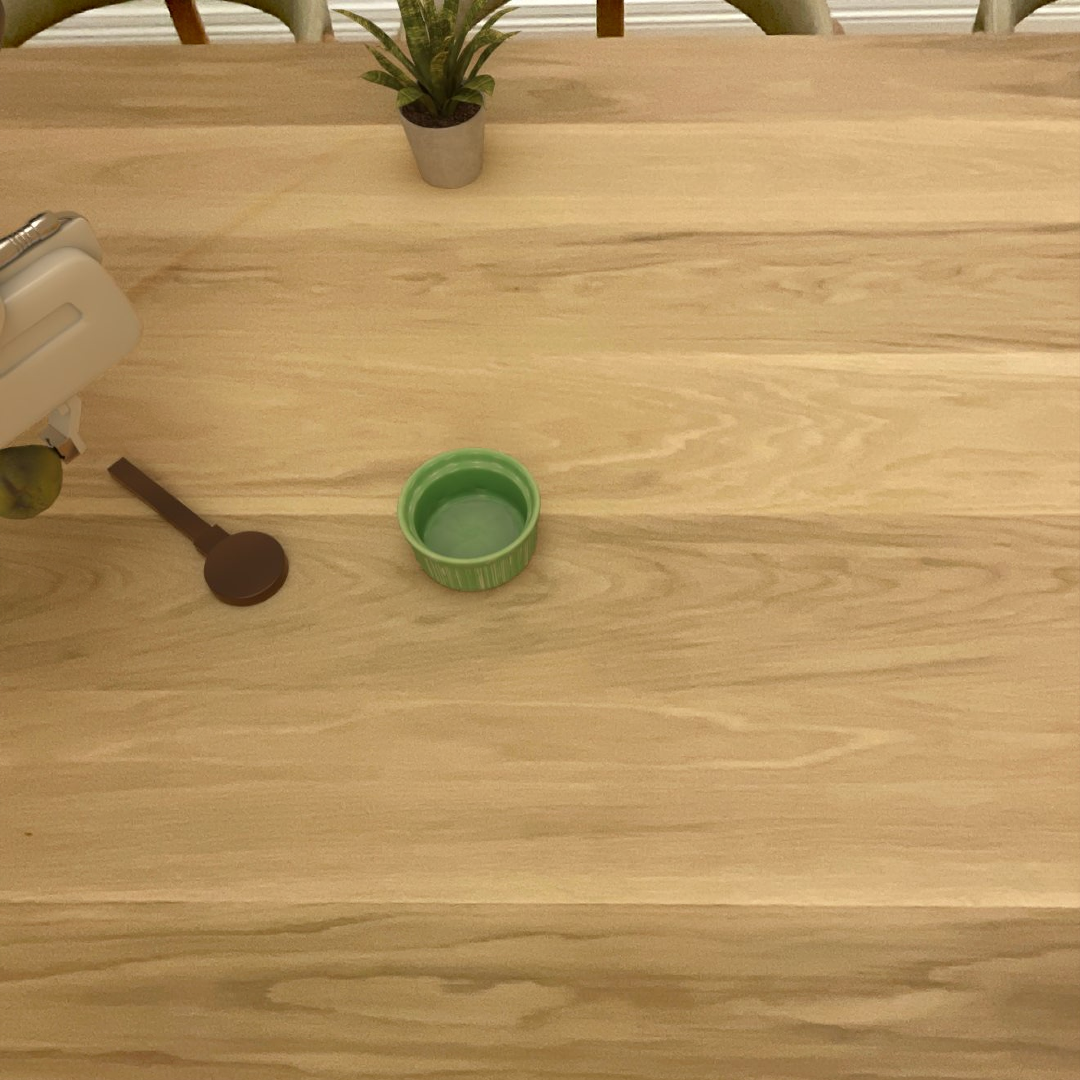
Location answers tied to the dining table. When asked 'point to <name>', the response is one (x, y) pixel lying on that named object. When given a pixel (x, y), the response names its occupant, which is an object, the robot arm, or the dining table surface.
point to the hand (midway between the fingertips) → (24, 486)
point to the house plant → (439, 86)
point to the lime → (28, 480)
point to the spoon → (215, 544)
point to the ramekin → (471, 517)
